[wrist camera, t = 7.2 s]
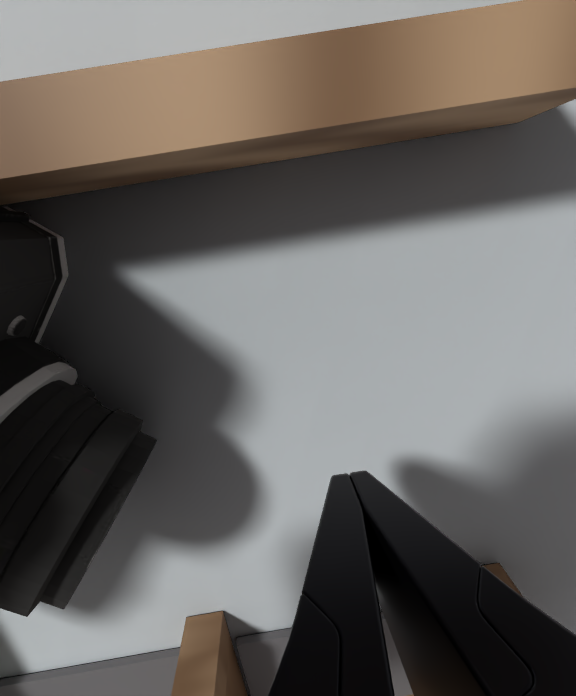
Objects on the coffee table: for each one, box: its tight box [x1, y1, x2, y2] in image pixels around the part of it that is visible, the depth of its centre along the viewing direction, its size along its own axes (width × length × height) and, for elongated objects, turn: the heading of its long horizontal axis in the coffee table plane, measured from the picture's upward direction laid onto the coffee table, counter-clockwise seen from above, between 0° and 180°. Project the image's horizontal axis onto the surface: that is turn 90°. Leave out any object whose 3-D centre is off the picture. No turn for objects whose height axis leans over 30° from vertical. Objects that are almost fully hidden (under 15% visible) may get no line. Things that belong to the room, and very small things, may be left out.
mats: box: [0, 612, 413, 696], centre depth 16 cm, size 20×5×1 cm, turn 99°
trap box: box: [0, 0, 576, 696], centre depth 12 cm, size 24×26×3 cm
